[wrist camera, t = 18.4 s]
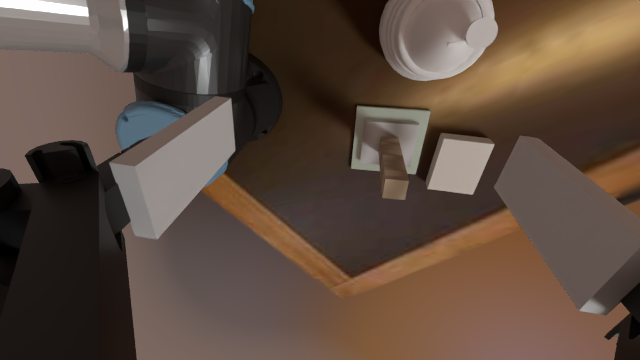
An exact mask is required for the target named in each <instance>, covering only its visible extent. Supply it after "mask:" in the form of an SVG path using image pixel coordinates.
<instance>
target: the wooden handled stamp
mask: <svg viewBox="0 0 640 360" xmlns="http://www.w3.org/2000/svg"><path fill="white" fill-rule="evenodd" d="M419 126H420V125H419V123H410V122H396V121H382V120H368V119H365V121H364V130H363V139H362V148H361V157H360V163H365V164H377V165H379V166H380V178H381V190H382V198H391V199H401V200H405V196H406V192H407V187H408V183H409V180H408V175H407V171H406V167H410V166H411V162H412V157H413V153H414V148H415V144H416V139H417V135H418V130H419Z"/></svg>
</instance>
